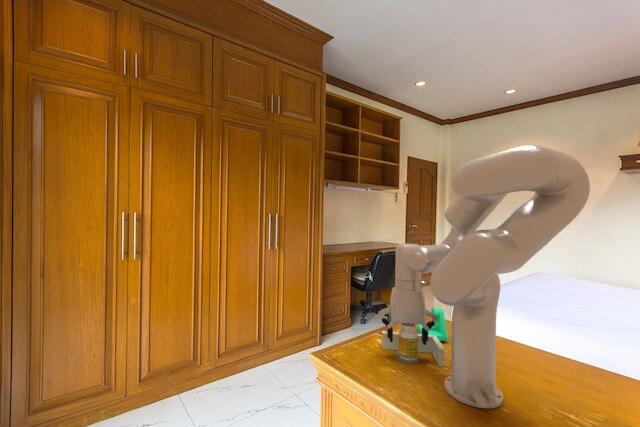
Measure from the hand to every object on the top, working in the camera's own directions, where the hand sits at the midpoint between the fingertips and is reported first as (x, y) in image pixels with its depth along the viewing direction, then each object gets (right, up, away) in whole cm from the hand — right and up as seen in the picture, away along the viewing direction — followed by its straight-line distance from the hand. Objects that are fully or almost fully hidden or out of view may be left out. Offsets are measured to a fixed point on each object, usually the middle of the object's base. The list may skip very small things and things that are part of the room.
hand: (407, 341), depth 89 cm
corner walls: (+1, -5, +1) cm, 5 cm away
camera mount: (+14, -6, +17) cm, 23 cm away
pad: (0, -5, 0) cm, 5 cm away
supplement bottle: (0, -5, 0) cm, 5 cm away
